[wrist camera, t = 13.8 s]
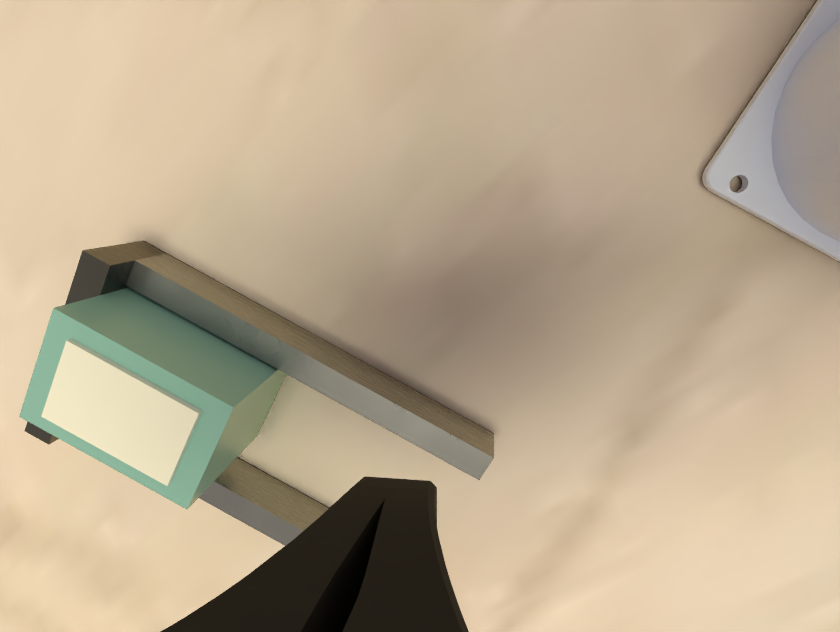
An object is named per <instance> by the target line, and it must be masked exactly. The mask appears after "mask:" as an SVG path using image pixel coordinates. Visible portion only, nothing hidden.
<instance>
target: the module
mask: <svg viewBox="0 0 840 632" xmlns="http://www.w3.org/2000/svg"><path fill="white" fill-rule="evenodd" d="M285 376H286V373H284V372H282V371H280V370H279V369H277V368H275V367H273V366H271V365H269V364H268V363H266V362H264V361H262V360H260V359H259V358H257V357H255V356H253V355H251V354H249V353H248V352H246V351H244V350H242V349H240V348H239V347H237V346H235V345H233V344H231V343H230V342H228V341H226V340H224V339H222V338H220V337H219V336H217V335H215V334H213V333H211V332H210V331H208V330H206V329H204V328H202V327H201V326H199V325H197V324H195V323H193V322H191V321H190V320H188V319H186V318H184V317H182V316H181V315H179V314H177V313H175V312H173V311H172V310H170V309H168V308H166V307H164V306H162V305H161V304H159V303H157V302H155V301H153V300H152V299H150V298H148V297H146V296H144V295H142V294H141V293H139V292H137V291H135V290H133V289H132V288H130V287H128V288H125V289H121V290H117V291H114V292H110V293H107V294H103V295H99V296H96V297H92V298H88V299H85V300H81V301H78V302H74V303H70V304H67V305H63V306H59V307H56V308H53V311H52V314H51V317H50V321H49V324H48V327H47V330H46V333H45V336H44V340H43V343H42V346H41V349H40V352H39V355H38V359H37V362H36V365H35V368H34V371H33V375H32V378H31V381H30V384H29V387H28V390H27V394H26V397H25V400H24V403H23V406H22V409H21V413H20V416H19V417H21V418H23V419H25V420H26V421H28V422H30V423H32V424H34V425H35V426H37V427H39V428H41V429H43V430H44V431H46V432H48V433H50V434H52V435H53V436H55V437H57V438H59V439H61V440H62V441H64V442H66V443H68V444H70V445H71V446H73V447H75V448H77V449H79V450H81V451H82V452H84V453H86V454H88V455H90V456H91V457H93V458H95V459H97V460H99V461H100V462H102V463H104V464H106V465H108V466H109V467H111V468H113V469H115V470H117V471H118V472H120V473H122V474H124V475H126V476H128V477H129V478H131V479H133V480H135V481H137V482H138V483H140V484H142V485H144V486H146V487H147V488H149V489H151V490H153V491H155V492H156V493H158V494H160V495H162V496H164V497H165V498H167V499H169V500H171V501H173V502H175V503H176V504H178V505H180V506H182V507H184V508H185V509H188V508H189V507H190V506H191V505H192V504H193V503H194V502H195V501H196V500H197V499H198V497H199V496H200V495H201V494H202V493H203V492H204V491H205V490H206V489H207V488H208V487H209V486H210V485H211V484H212V483H213V482H214V481H215V480H216V479H217V478H218V476H219V475H220V474H221V473H222V472H223V471H224V470H225V469H226V468H227V467H228V466H229V465H230V464H231V463H232V462H233V461H234V460H235V459H236V458H237V456H238V455H239V454H240V453H241V452H242V451H243V450H244V449H245V448H246V447H247V446H248V445H249V444H250V443H251V442H252V441H253V440H254V439H255V438H256V436H257V435H258V432H259V430H260V428H261V426H262V424H263V422H264V420H265V418H266V416H267V414H268V412H269V410H270V408H271V405H272V403H273V401H274V399H275V397H276V395H277V393H278V391H279V389H280V387H281V385H282V383H283V381H284V378H285Z"/></svg>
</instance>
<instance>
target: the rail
mask: <svg viewBox="0 0 840 632" xmlns="http://www.w3.org/2000/svg"><path fill="white" fill-rule="evenodd" d="M128 287H130V288H132V289H133V290H135V291H137V292H139V293H141V294H142V295H144V296H146V297H148V298H150V299H152V300H153V301H155V302H157V303H159V304H161V305H162V306H164V307H166V308H168V309H170V310H172V311H173V312H175V313H177V314H179V315H181V316H182V317H184V318H186V319H188V320H190V321H191V322H193V323H195V324H197V325H199V326H201V327H202V328H204V329H206V330H208V331H210V332H211V333H213V334H215V335H217V336H219V337H220V338H222V339H224V340H226V341H228V342H230V343H231V344H233V345H235V346H237V347H239V348H240V349H242V350H244V351H246V352H248V353H249V354H251V355H253V356H255V357H257V358H259V359H260V360H262V361H264V362H266V363H268V364H269V365H271V366H273V367H275V368H277V369H279V370H280V371H282V372H284V373H286V374H288V375H289V376H291V377H293V378H295V379H297V380H298V381H300V382H302V383H304V384H306V385H308V386H309V387H311V388H313V389H315V390H317V391H318V392H320V393H322V394H324V395H326V396H327V397H329V398H331V399H333V400H335V401H337V402H338V403H340V404H342V405H344V406H346V407H347V408H349V409H351V410H353V411H355V412H356V413H358V414H360V415H362V416H364V417H366V418H367V419H369V420H371V421H373V422H375V423H376V424H378V425H380V426H382V427H384V428H386V429H387V430H389V431H391V432H393V433H395V434H396V435H398V436H400V437H402V438H404V439H405V440H407V441H409V442H411V443H413V444H415V445H416V446H418V447H420V448H422V449H424V450H425V451H427V452H429V453H431V454H433V455H434V456H436V457H438V458H440V459H442V460H444V461H445V462H447V463H449V464H451V465H453V466H454V467H456V468H458V469H460V470H462V471H463V472H465V473H467V474H469V475H471V476H473V477H474V478H476V479H478V480H480V478H481V477H482V475H483V474H484V472H485V471H486V469H487V467H488V466H489V464H490V463H491V461H492V460H493V458H494V434H493V433H491V432H490V431H488V430H486V429H484V428H482V427H480V426H479V425H477V424H475V423H473V422H471V421H470V420H468V419H466V418H464V417H462V416H460V415H459V414H457V413H455V412H453V411H451V410H450V409H448V408H446V407H444V406H442V405H441V404H439V403H437V402H435V401H433V400H431V399H430V398H428V397H426V396H424V395H422V394H421V393H419V392H417V391H415V390H413V389H411V388H410V387H408V386H406V385H404V384H402V383H401V382H399V381H397V380H395V379H393V378H392V377H390V376H388V375H386V374H384V373H382V372H381V371H379V370H377V369H375V368H373V367H372V366H370V365H368V364H366V363H364V362H362V361H361V360H359V359H357V358H355V357H353V356H352V355H350V354H348V353H346V352H344V351H343V350H341V349H339V348H337V347H335V346H333V345H332V344H330V343H328V342H326V341H324V340H323V339H321V338H319V337H317V336H315V335H313V334H312V333H310V332H308V331H306V330H304V329H303V328H301V327H299V326H297V325H295V324H294V323H292V322H290V321H288V320H286V319H284V318H283V317H281V316H279V315H277V314H275V313H274V312H272V311H270V310H268V309H266V308H264V307H263V306H261V305H259V304H257V303H255V302H254V301H252V300H250V299H248V298H246V297H245V296H243V295H241V294H239V293H237V292H235V291H234V290H232V289H230V288H228V287H226V286H225V285H223V284H221V283H219V282H217V281H215V280H214V279H212V278H210V277H208V276H206V275H205V274H203V273H201V272H199V271H197V270H196V269H194V268H192V267H190V266H188V265H186V264H185V263H183V262H181V261H179V260H177V259H176V258H174V257H172V256H170V255H168V254H166V253H165V252H163V251H161V250H159V249H157V248H156V247H154V246H152V245H150V244H148V243H146V242H145V241H140V242H133V243H127V244H120V245H114V246H108V247H101V248H95V249H89V250H83V251H82V254H81V257H80V260H79V263H78V266H77V270H76V273H75V276H74V279H73V282H72V285H71V288H70V291H69V295H68V298H67V301H66V304H65V305H67V304H70V303H74V302H78V301H81V300H85V299H88V298H92V297H96V296H99V295H103V294H107V293H110V292H114V291H117V290H121V289H125V288H128ZM25 431H26V432H27V433H29V434H31V435H33V436H35V437H36V438H38V439H40V440H42V441H44V442H45V443H47V444H51V443H52V442H54V441H56V440H57V439H59V438H57V437H55V436H53V435H52V434H50V433H48V432H46V431H44V430H43V429H41V428H39V427H37V426H35V425H34V424H32V423H30V422H27V425H26V428H25ZM198 498H200V499H202V500H204V501H205V502H207V503H209V504H211V505H213V506H214V507H216V508H218V509H220V510H222V511H223V512H225V513H227V514H229V515H231V516H232V517H234V518H236V519H238V520H240V521H242V522H243V523H245V524H247V525H249V526H251V527H252V528H254V529H256V530H258V531H260V532H261V533H263V534H265V535H267V536H269V537H270V538H272V539H274V540H276V541H278V542H280V543H281V544H283V545H285V546H286V545H287V544H289V543H290V542H291V541H292V540H293V539H295V538H296V537H297V536H298V535H299V534H300V533H302V532H303V531H304V530H305V529H306V528H307V527H308V526H310V525H311V524H312V523H313V522H314V521H315V520H317V519H318V518H319V517H320V516H321V515H322V514H323V513H324V512H326V511H327V510H328V509H329V508H328V507H326V506H324V505H322V504H320V503H319V502H317V501H315V500H313V499H311V498H310V497H308V496H306V495H304V494H302V493H301V492H299V491H297V490H295V489H293V488H291V487H290V486H288V485H286V484H284V483H282V482H281V481H279V480H277V479H275V478H273V477H272V476H270V475H268V474H266V473H264V472H263V471H261V470H259V469H257V468H255V467H253V466H252V465H250V464H248V463H246V462H244V461H243V460H241V459H239V458H236V459H235V460H234V461H233V462H232V463H231V464H230V465H229V466H228V467H227V468H226V469H225V470H224V471H223V472H222V473H221V474H220V475H219V476H218V478H217V479H216V480H215V481H214V482H213V483H212V484H211V485H210V486H209V487H208V488H207V489H206V490H205V491H204V492H203V493H202V494H201V495H200V496H199V497H198Z"/></svg>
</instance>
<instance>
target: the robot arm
mask: <svg viewBox="0 0 840 632" xmlns="http://www.w3.org/2000/svg"><path fill="white" fill-rule="evenodd" d="M735 176H739V177H740V178H741V179H742V186H741V188H740V189H739V190H738V191H737V192H733V191H732V190H731V189H730V185H729V184H730V181H731V179H732V178H733V177H735ZM703 184H704V186H705V187H706V188H707V189H708V190H709V191H711V192H712V193H714V194H716V195H718V196H720V197H722V198H723V199H725V200H727V201H729V202H731V203H733V204H734V205H736V206H738V207H740V208H742V209H743V210H745V211H747V212H749V213H751V214H753V215H754V216H756V217H758V218H760V219H762V220H764V221H765V222H767V223H769V224H771V225H773V226H775V227H776V228H778V229H780V230H782V231H784V232H785V233H787V234H789V235H791V236H793V237H795V238H796V239H798V240H800V241H802V242H804V243H806V244H807V245H809V246H811V247H813V248H815V249H816V250H818V251H820V252H822V253H824V254H826V255H827V256H829V257H831V258H833V259H835V260H837V261H838V262H840V0H817V2H816V3H815V5H814V6H813V8H812V9H811V11H810V12H809V14H808V15H807V17H806V18H805V20H804V21H803V23H802V24H801V26H800V27H799V29H798V30H797V32H796V33H795V35H794V36H793V38H792V39H791V41H790V42H789V44H788V45H787V47H786V48H785V50H784V51H783V53H782V54H781V56H780V57H779V59H778V60H777V62H776V63H775V65H774V66H773V68H772V69H771V71H770V72H769V74H768V75H767V77H766V78H765V80H764V81H763V83H762V84H761V86H760V87H759V89H758V90H757V92H756V93H755V95H754V96H753V98H752V99H751V101H750V102H749V104H748V105H747V107H746V108H745V110H744V111H743V113H742V114H741V116H740V117H739V119H738V120H737V122H736V123H735V125H734V126H733V128H732V129H731V131H730V132H729V134H728V135H727V137H726V138H725V140H724V141H723V143H722V144H721V146H720V147H719V149H718V150H717V152H716V153H715V155H714V156H713V158H712V159H711V161H710V162H709V164H708V165H707V167H706V168H705V170H704V173H703ZM161 632H469V631H468V629H467V626H466V624H465V621H464V619H463V616H462V613H461V611H460V608H459V605H458V603H457V600H456V597H455V594H454V591H453V588H452V585H451V582H450V579H449V575H448V572H447V569H446V565H445V561H444V557H443V553H442V549H441V545H440V541H439V537H438V531H437V487H436V486H435V485H434V484H433V483H432V482H431V481H422V480H407V479H392V478H377V477H364V478H362V479H361V480H360V481H359V482H358V483H357V484H356V485H354V486H353V487H352V488H351V489H350V490H349V491H348V492H347V493H345V494H344V495H343V496H342V497H341V498H340V499H339V500H338V501H337V502H336V503H334V504H333V505H332V506H331V507H330V508H329V509H328V510H327V511H326V512H324V513H323V514H322V515H321V516H320V517H319V518H318V519H317V520H315V521H314V522H313V523H312V524H311V525H310V526H308V527H307V528H306V529H305V530H304V531H303V532H302V533H300V534H299V535H298V536H297V537H296V538H295V539H293V540H292V541H291V542H290V543H289V544H287V545H286V546H285V547H283V548H282V549H281V550H280V551H278V552H277V553H276V554H274V555H273V556H272V557H271V558H269V559H268V560H267V561H266V562H264V563H263V564H262V565H260V566H259V567H258V568H257V569H255V570H254V571H253V572H251V573H250V574H249V575H247V576H246V577H245V578H243V579H242V580H240V581H239V582H238V583H236V584H235V585H233V586H232V587H231V588H229V589H228V590H226V591H225V592H223V593H222V594H220V595H219V596H217V597H216V598H214V599H213V600H211V601H210V602H208V603H207V604H205V605H203V606H202V607H200V608H199V609H197V610H196V611H194V612H193V613H191V614H190V615H188V616H186V617H185V618H183V619H182V620H180V621H178V622H177V623H175V624H173V625H172V626H170V627H168V628H166V629H165V630H163V631H161Z"/></svg>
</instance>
